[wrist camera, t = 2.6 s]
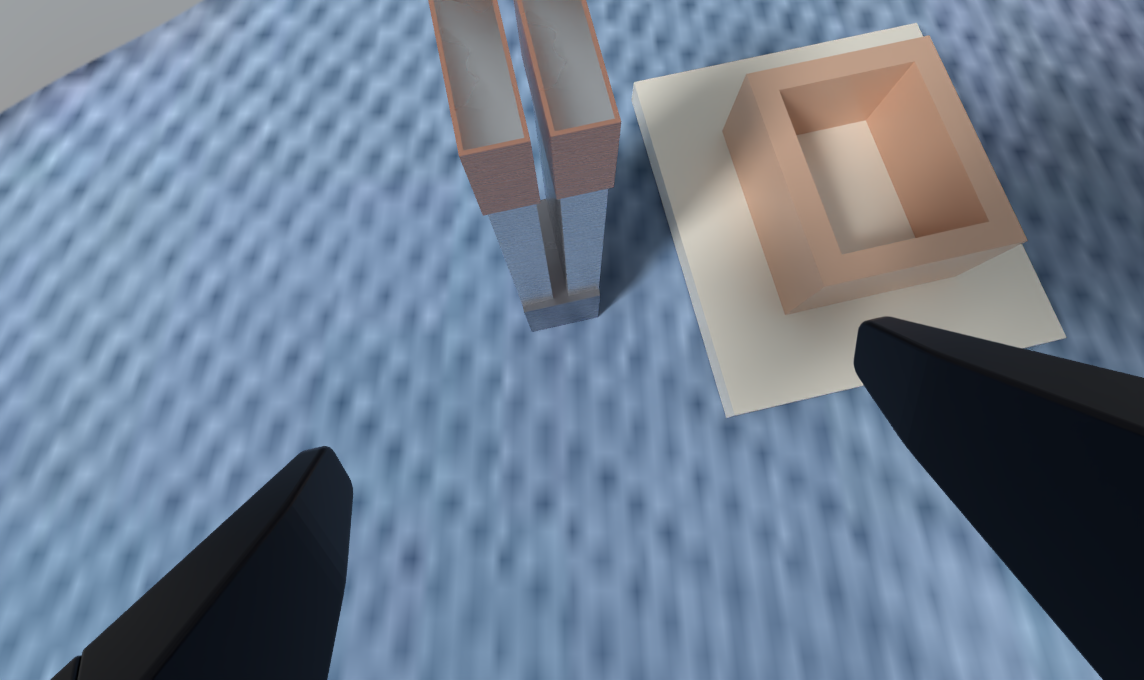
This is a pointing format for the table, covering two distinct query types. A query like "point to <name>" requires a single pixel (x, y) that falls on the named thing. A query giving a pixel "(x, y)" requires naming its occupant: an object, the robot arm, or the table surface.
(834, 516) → the table surface
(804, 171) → the holder
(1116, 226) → the table surface
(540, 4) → the slotted copper-topped post
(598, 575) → the table surface
